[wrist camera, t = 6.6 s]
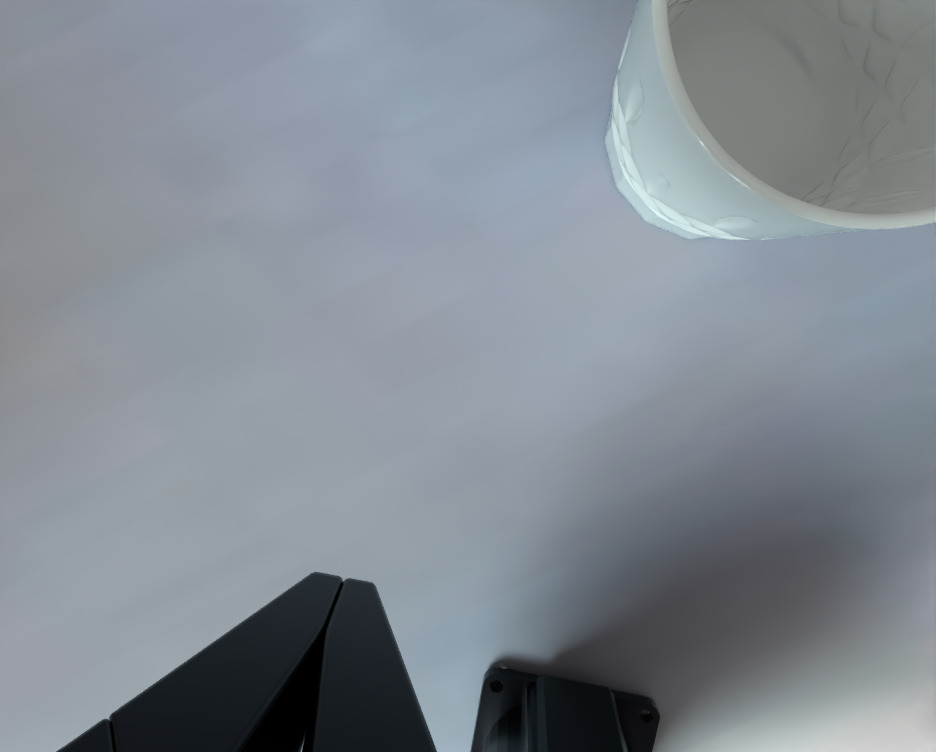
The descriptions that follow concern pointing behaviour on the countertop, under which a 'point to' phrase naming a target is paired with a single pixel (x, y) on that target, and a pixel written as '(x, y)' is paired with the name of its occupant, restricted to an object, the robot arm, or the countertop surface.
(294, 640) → the robot arm
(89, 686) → the countertop surface
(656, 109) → the white cup
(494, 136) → the countertop surface
